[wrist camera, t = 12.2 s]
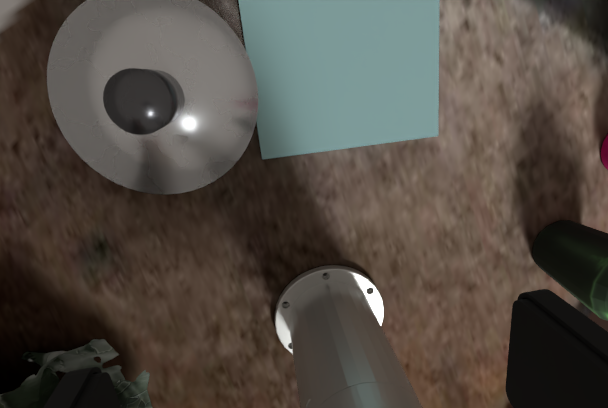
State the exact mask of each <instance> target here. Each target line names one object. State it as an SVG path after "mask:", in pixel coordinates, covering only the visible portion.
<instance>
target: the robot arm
mask: <svg viewBox="0 0 608 408" xmlns="http://www.w3.org/2000/svg"><path fill="white" fill-rule="evenodd" d="M324 273H326V274H324ZM383 317H384V306H383V300H382V298H381V295H380V293H379V291H378V289H377V287H376V286H375V284H374V283H373V282H372V281H371V280H370V279H369V278H368V277H367V276H366V275H364V274H363V273H362V272H360V271H358V270H355V269H353V268H350V267H346V266H339V265H329V266H321V267H317V268H314V269H311V270H309V271H307V272H305V273H302V274H301V275H299V276H298V277H296V278H295V279H294V280H292V281H291V282H290V283H289V284H288V286H287V287H286V288H285V289H284V290H283V292H282V294H281V295H280V297H279V299H278V302H277V304H276V309H275V327H276V333H277V335H278V337H279V340H280V341H281V343H282V344H283V346H284V347H285V348H286V349H287V350H288V351H289V352H290V353H291V354H293V358H294V365H295V372H296V379H297V386H298V394H299V401H300V408H423V407H422V406H421V404H420V402H419V400H418V398H417V396H416V394H415V392H414V390H413V388H412V386H411V384H410V382H409V380H408V378H407V376H406V374H405V372H404V370H403V368H402V366H401V364H400V362H399V360H398V358H397V356H396V354H395V353H394V351H393V349H392V347H391V345H390V343H389V341H388V339H387V337H386V335H385V333H384V331H383V329H382V327H381V325H382V321H383ZM506 393H507V397H508V399H509V401H510V403H511V404H512V406H513V407H514V408H608V332H607V331H606V330H604V329H603V328H602V327H600V326H599V325H597V324H596V323H595V322H593V321H592V320H590V319H589V318H588V317H586V316H585V315H584V314H582V313H581V312H579V311H578V310H577V309H575V308H574V307H572V306H571V305H570V304H568V303H567V302H566V301H564V300H563V299H561V298H560V297H559V296H557V295H556V294H555V293H553V292H552V291H550V290H547V289H542V290H537V291H531V292H525V293H522V294H520V295H519V297H518V300H517V301H515V302H514V303H513V308H512V319H511V331H510V343H509V354H508V366H507V378H506ZM43 408H121V405H120V403H119V400H118V397H117V394H116V391H115V388H114V385H113V383H112V380H111V377H110V375H109V374H108V373H107V372H103V373H102V371H101V369H100V368H98V367H91V368H85V369H79V370H73V371H69V372H67V373H66V374H65V375H64V376H63V377H62V379H61V381H60V382H59V384H58V385H57V387H56V388H55V390H54V392H53V393H52V395H51V396H50V398H49V399H48V401H47V403H46V404H45V406H44V407H43Z"/></svg>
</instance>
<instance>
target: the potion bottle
mask: <svg viewBox="0 0 608 408" xmlns="http://www.w3.org/2000/svg"><path fill="white" fill-rule="evenodd" d="M532 254H533V258H534V262H535V263H536V264H537V265H538V266H539V267H540V268H541V269H542V270H543V271H544V272H546V273H547V274H548V275H549V276H550V277H552V278H553V279H554V280H555V281H556V282H558V283H559V284H560V285H561V286H562V287H564V288H565V289H566V290H567V291H568V292H570V293H571V294H572V295H573V296H574V297H576V298H577V299H578V300H579V301H580V302H582V303H583V304H584V305H585V306H586V307H588V308H589V309H590V310H591V311H592V312H594V313H595V314H596V315H597V316H599V317H600V318H601V319H604V320H607V321H608V233H605V232H602V231H599V230H596V229H593V228H590V227H587V226H584V225H581V224H578V223H575V222H573V221H570V220H567V221H558V222H556V223H553V224H551V225H549V226H547V227H546V228H545V229H544V230H543V231H542V232H540V233H539V235H538V237H537V238H536V240H535V242H534V246H533V252H532Z"/></svg>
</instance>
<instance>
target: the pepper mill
mask: <svg viewBox="0 0 608 408" xmlns="http://www.w3.org/2000/svg"><path fill="white" fill-rule="evenodd" d="M601 159H602V162H603V164H604V166H605V168H606V169H608V134H607V136H606V138H605V139H604V141H603V145H602V148H601Z"/></svg>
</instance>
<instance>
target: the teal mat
mask: <svg viewBox="0 0 608 408" xmlns="http://www.w3.org/2000/svg"><path fill="white" fill-rule="evenodd" d="M238 1H239V8H240V14H241V21H242V28H243V34H244V41H245V48H246V52H247V54H248V56H249V58H250V61H251V64H252V67H253V70H254V73H255V77H256V82H257V88H258V114H257V120H256V122H257V129H258V135H259V142H260V149H261V155H262V160H263V159H270V158H278V157H285V156H293V155H300V154H308V153H315V152H323V151H330V150H337V149H345V148H352V147H360V146H367V145H375V144H382V143H390V142H397V141H404V140H412V139H419V138H427V137H434V136H438V104H439V0H238Z"/></svg>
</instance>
